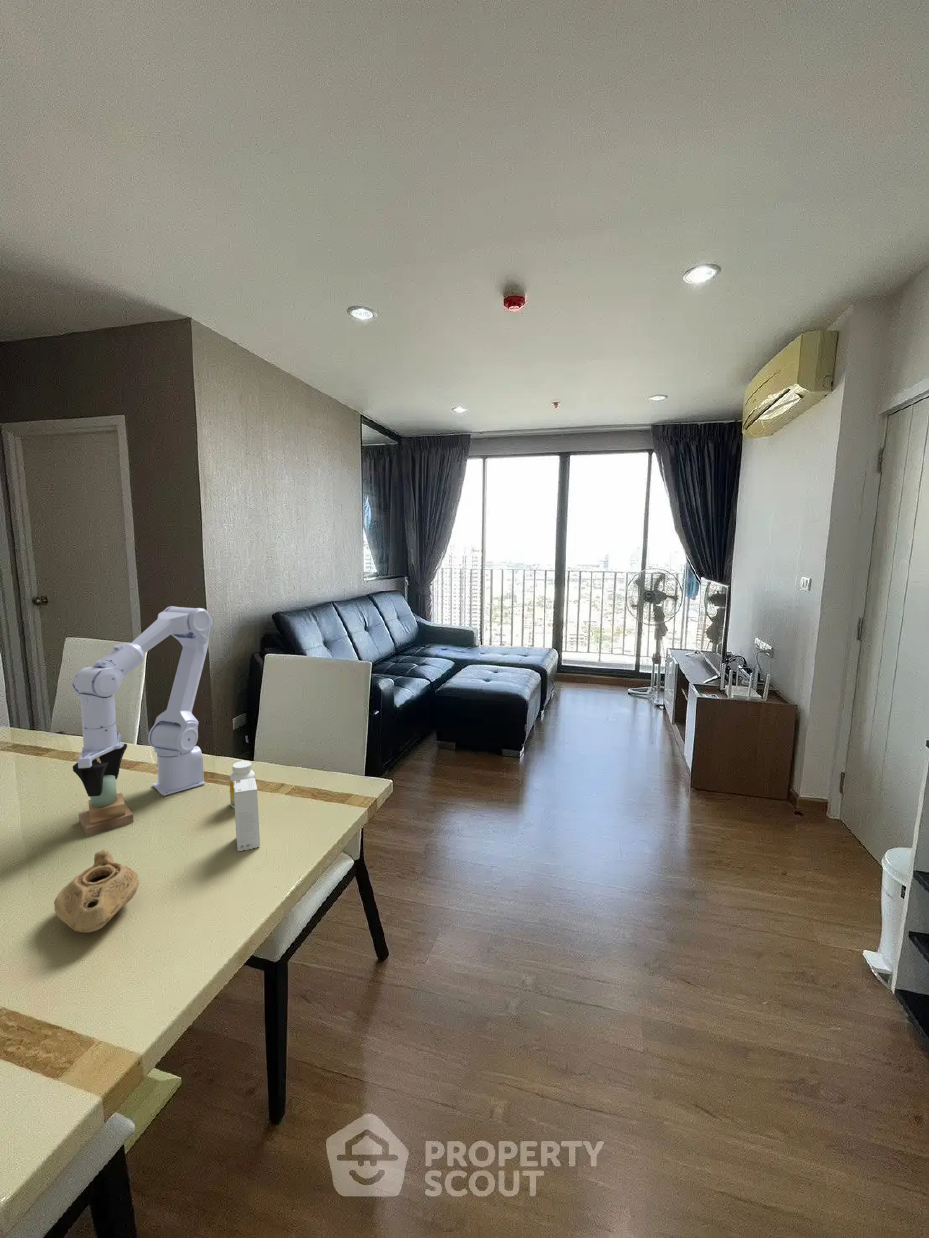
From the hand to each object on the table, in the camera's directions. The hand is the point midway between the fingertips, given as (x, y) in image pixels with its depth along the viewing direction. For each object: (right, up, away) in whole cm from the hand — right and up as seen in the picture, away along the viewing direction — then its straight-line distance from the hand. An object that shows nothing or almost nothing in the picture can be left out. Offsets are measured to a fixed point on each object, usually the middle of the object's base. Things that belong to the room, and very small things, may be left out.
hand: (103, 787), depth 107 cm
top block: (0, -6, +1) cm, 6 cm away
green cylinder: (0, -3, 0) cm, 3 cm away
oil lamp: (+18, -12, -26) cm, 34 cm away
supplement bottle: (+25, -7, +10) cm, 28 cm away
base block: (0, -8, +1) cm, 8 cm away
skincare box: (+32, -10, -5) cm, 34 cm away
